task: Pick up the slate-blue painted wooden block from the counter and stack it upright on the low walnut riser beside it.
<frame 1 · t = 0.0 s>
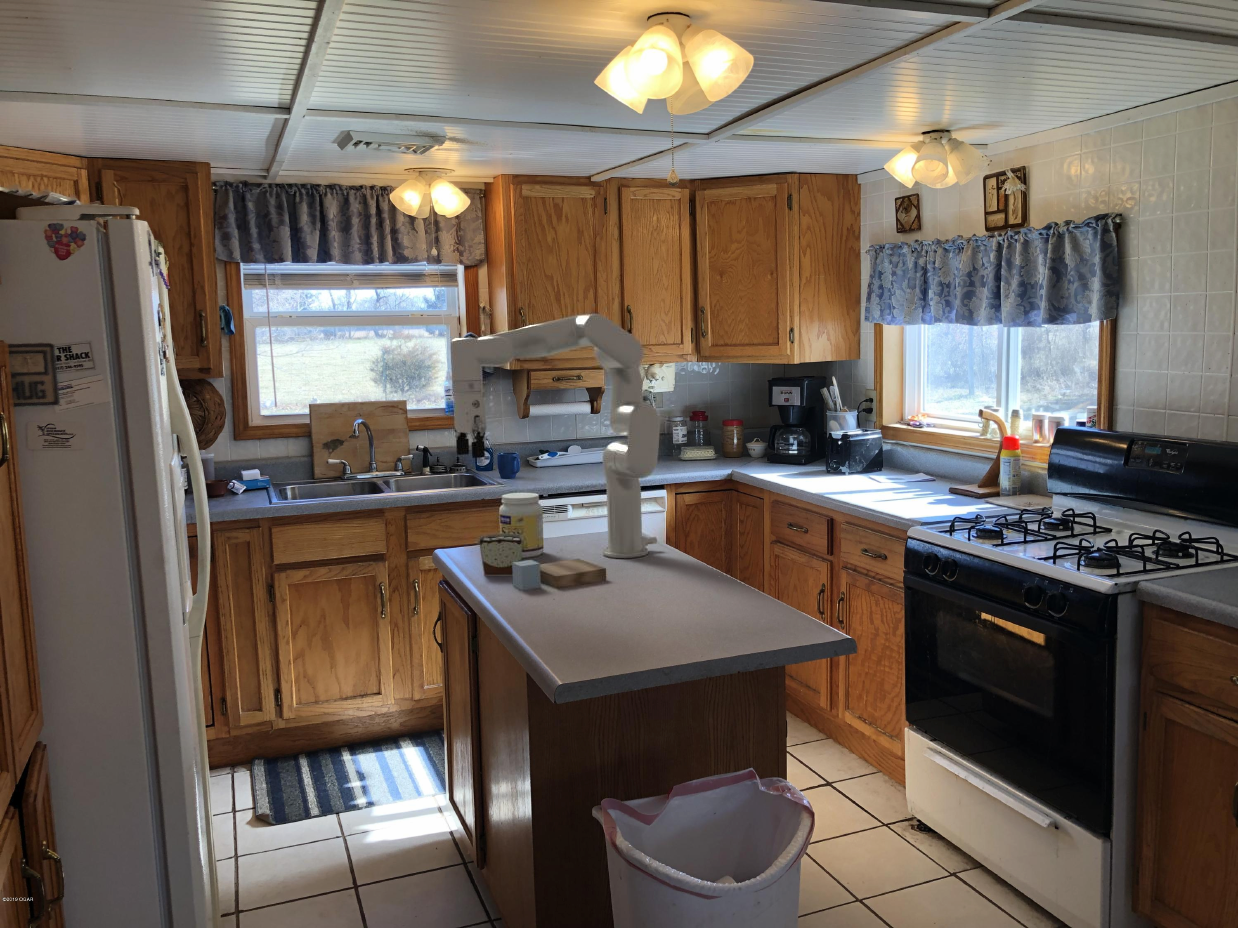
hand: (470, 456, 249), 31 cm above the countertop, fingers open, 9 cm apart
walnut riser: (568, 578, 249), on the countertop
food container: (504, 573, 257), on the countertop
supplement tub: (522, 554, 280), on the countertop
slate block: (526, 587, 242), on the countertop
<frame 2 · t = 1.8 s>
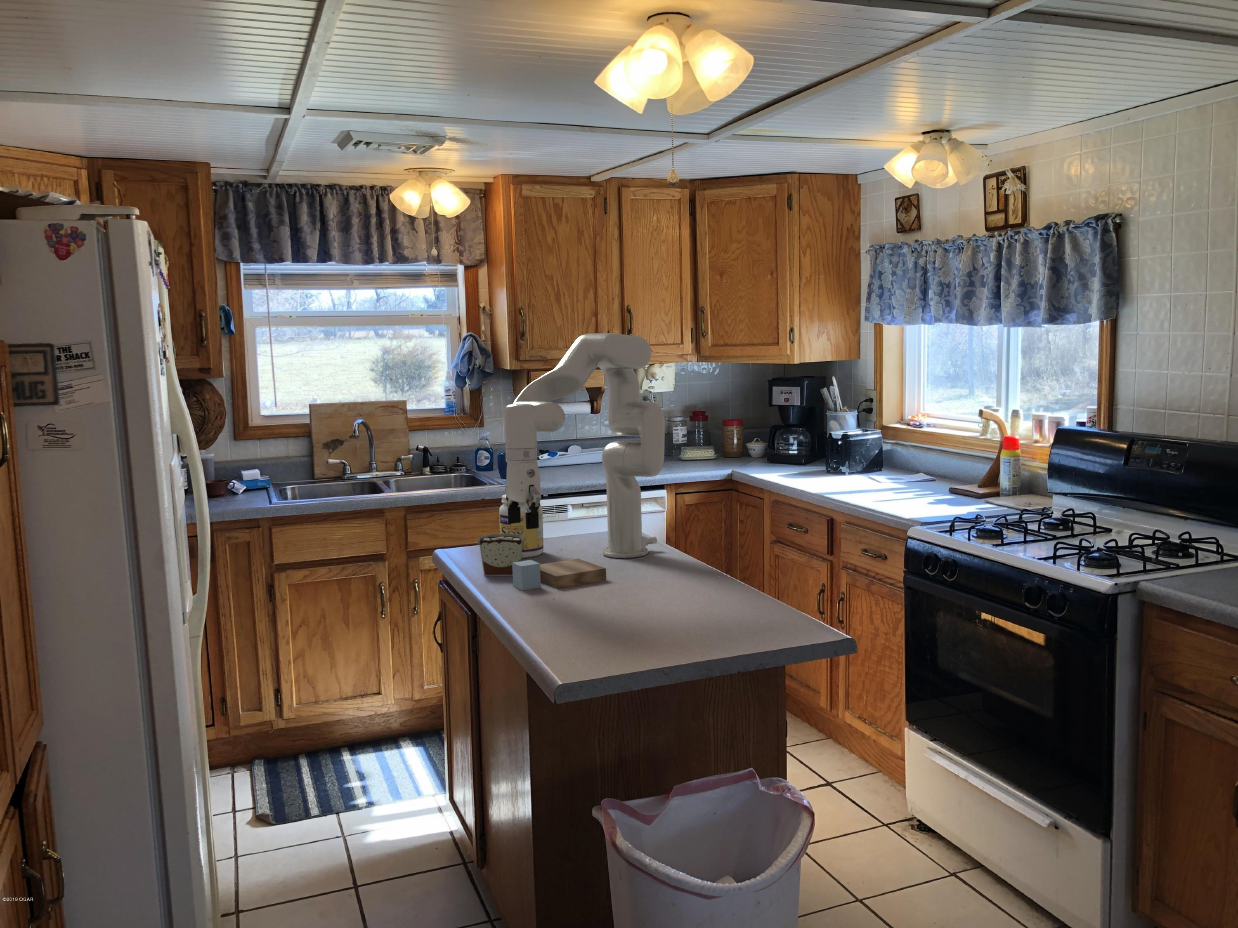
hand: (523, 525, 240), 15 cm above the countertop, fingers open, 9 cm apart
nothing on the countertop moved.
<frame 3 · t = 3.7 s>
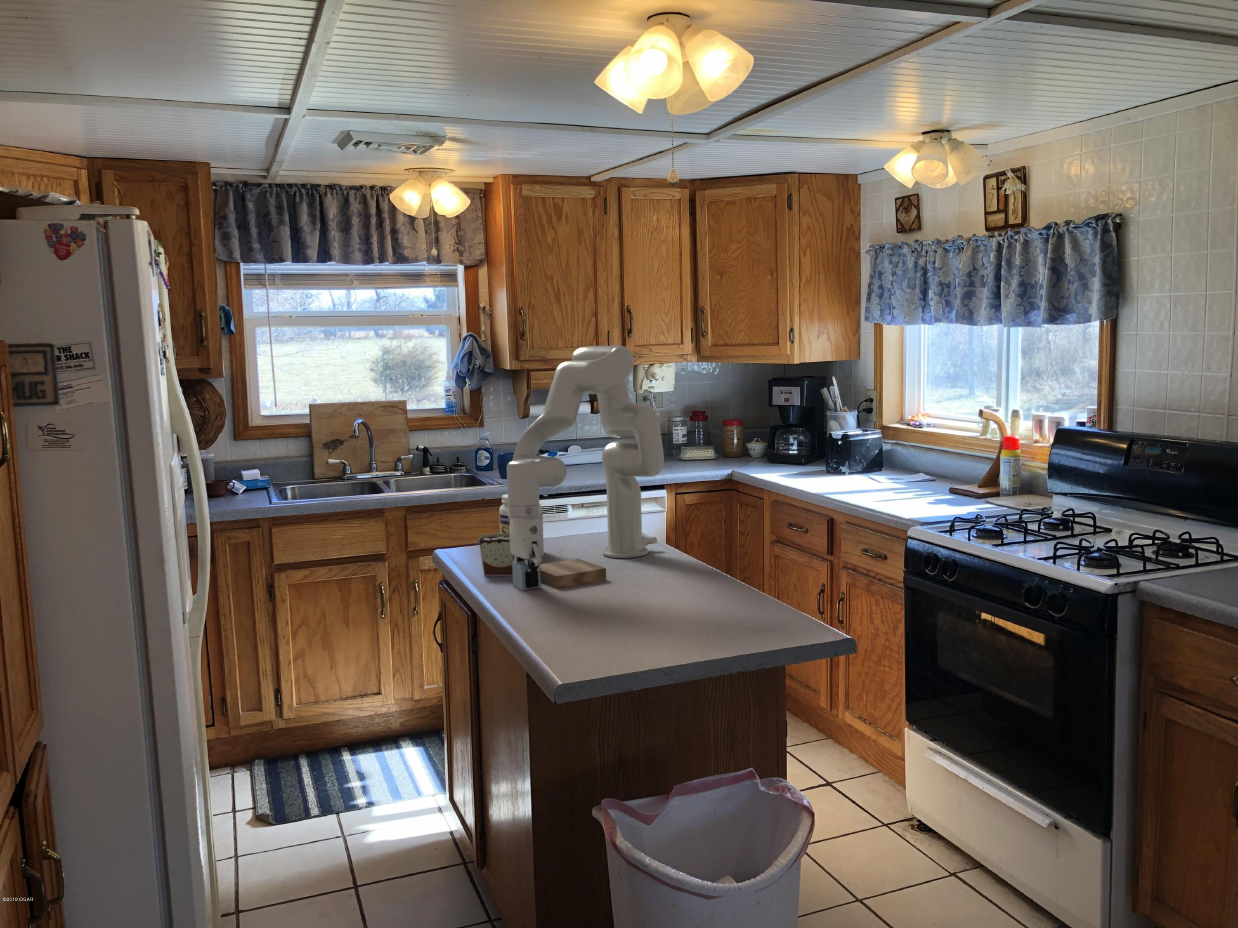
hand: (526, 584, 242), 1 cm above the countertop, fingers closed on slate block, 5 cm apart
slate block: (526, 586, 242), on the countertop, touching gripper
everything else where it was.
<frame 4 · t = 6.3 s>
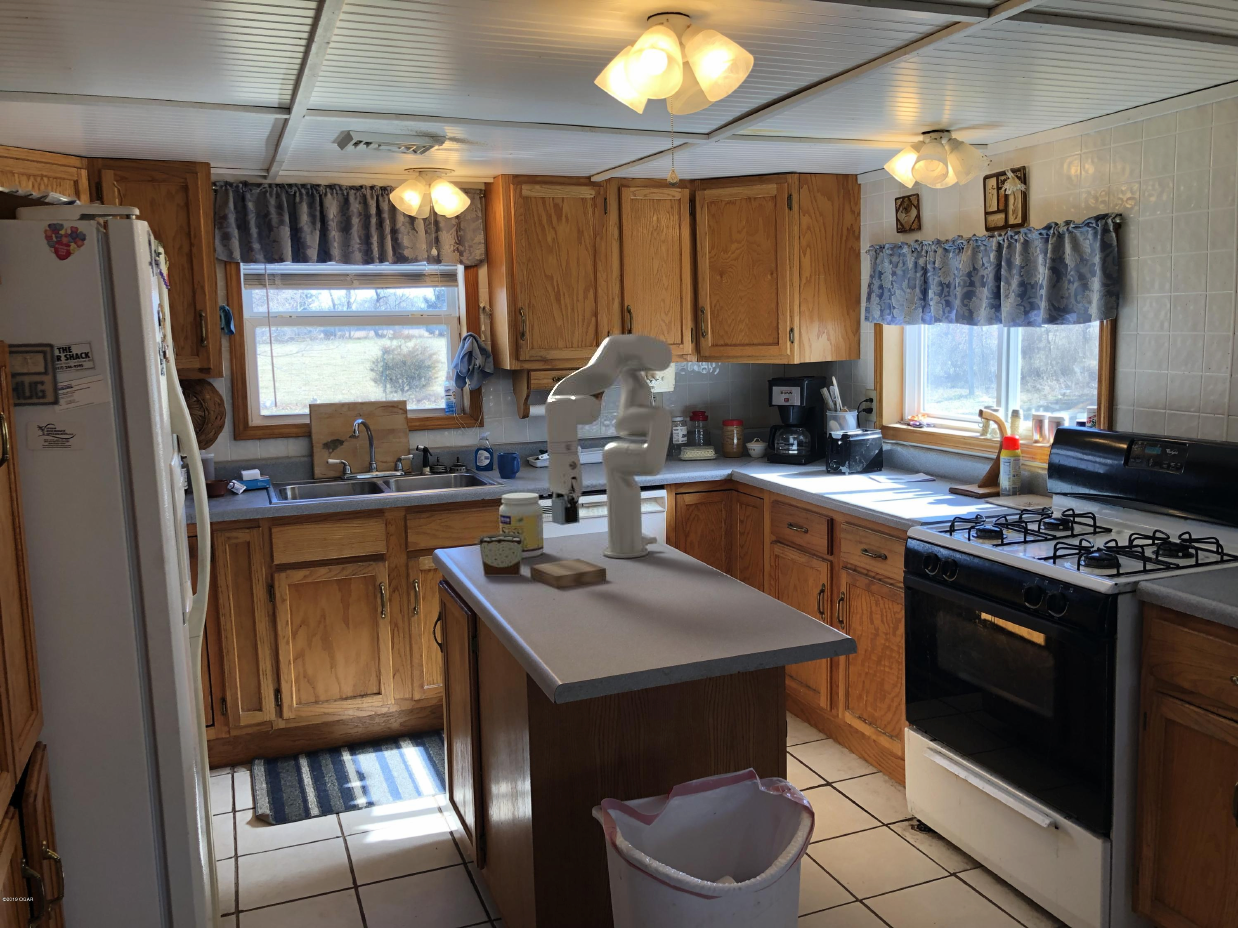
hand: (565, 519, 247), 15 cm above the countertop, fingers closed on slate block, 5 cm apart
slate block: (565, 522, 247), point 14 cm above the countertop, touching gripper
everything else where it was.
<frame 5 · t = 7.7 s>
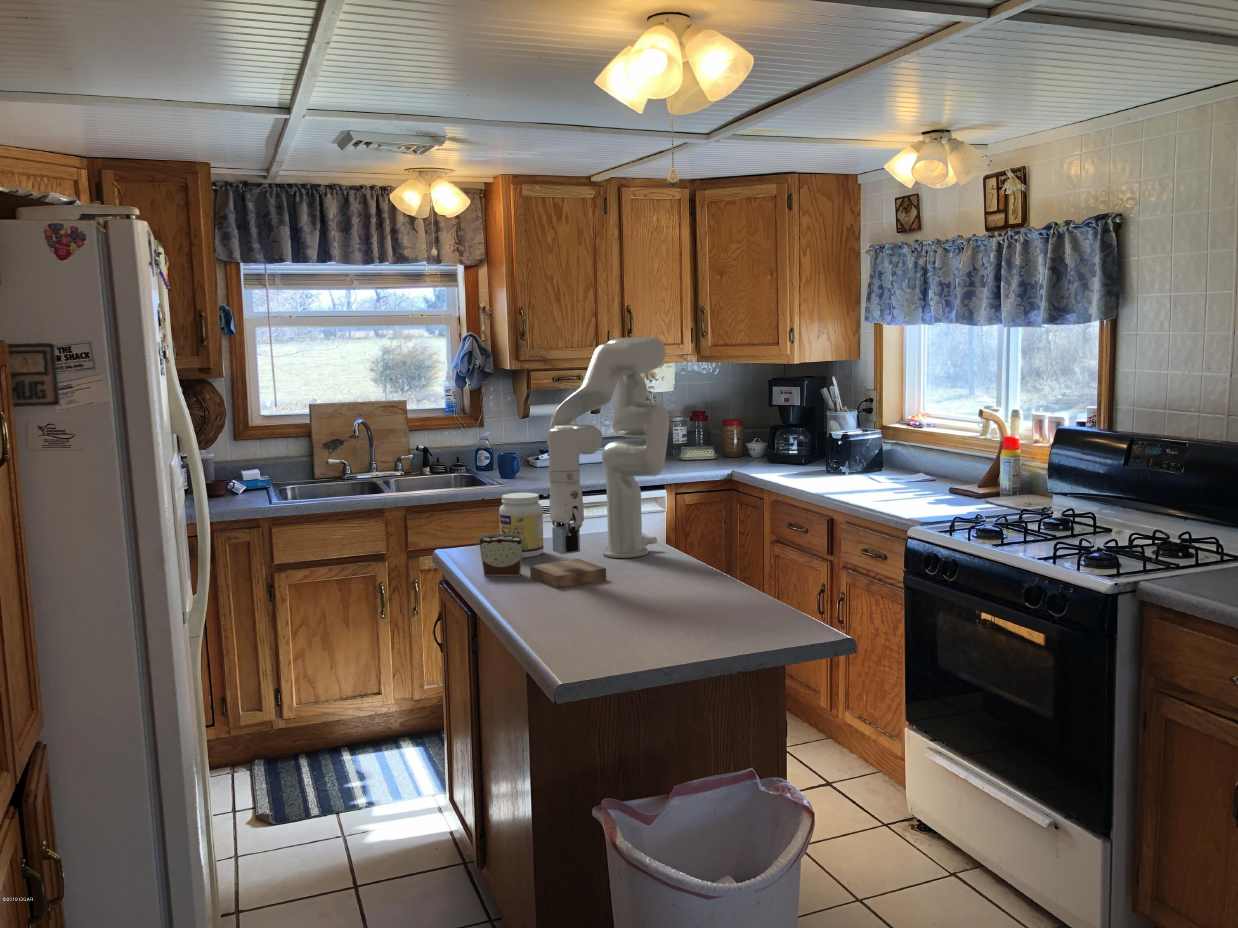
hand: (566, 548, 248), 8 cm above the countertop, fingers closed on slate block, 5 cm apart
slate block: (566, 551, 248), point 7 cm above the countertop, touching gripper
everything else where it was.
when the fingers open (5 cm above the countertop, at t = 9.0 s): slate block drops 1 cm, resting on walnut riser.
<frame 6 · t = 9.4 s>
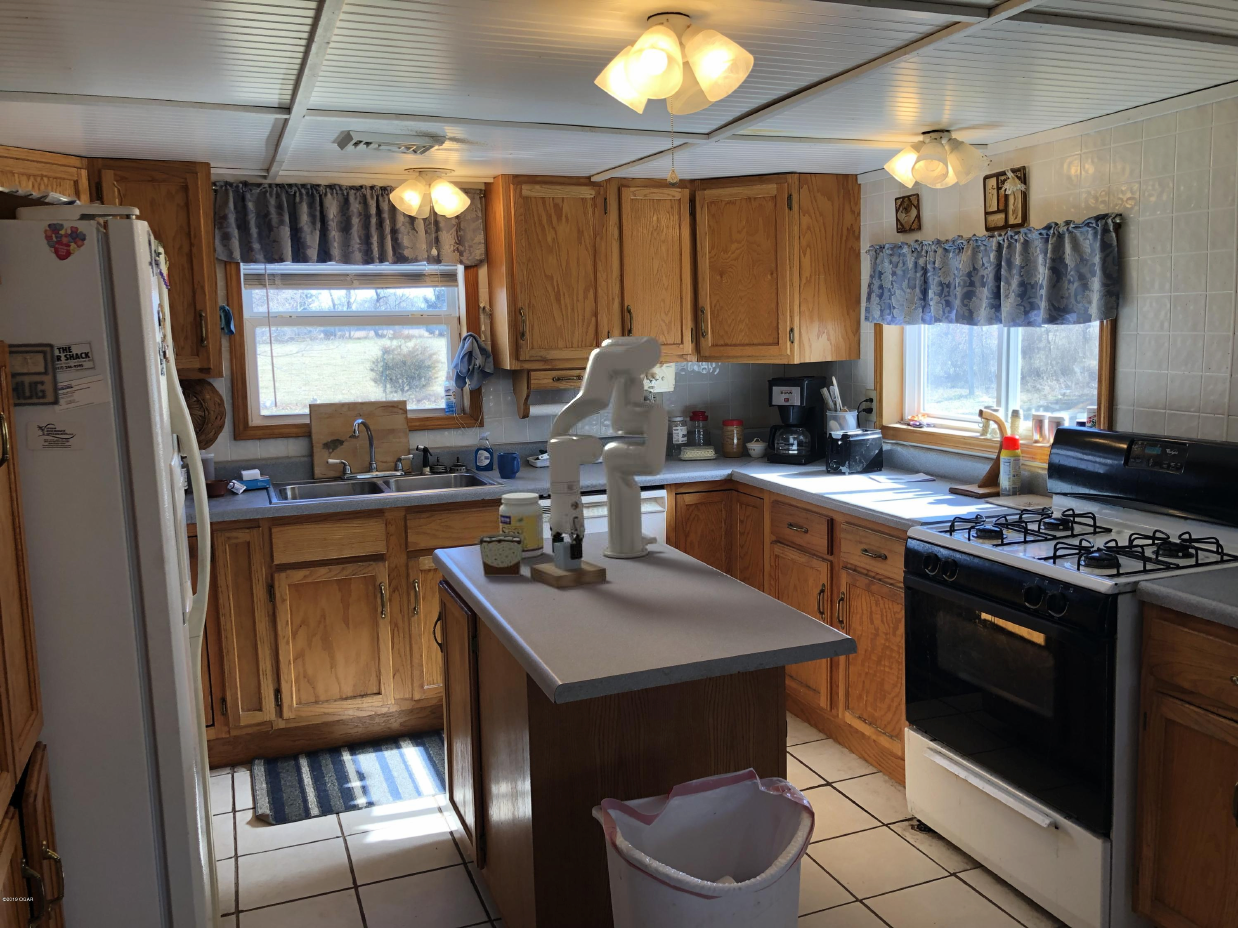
hand: (567, 555, 248), 6 cm above the countertop, fingers open, 9 cm apart
slate block: (567, 567, 249), point 3 cm above the countertop, touching walnut riser
everything else where it was.
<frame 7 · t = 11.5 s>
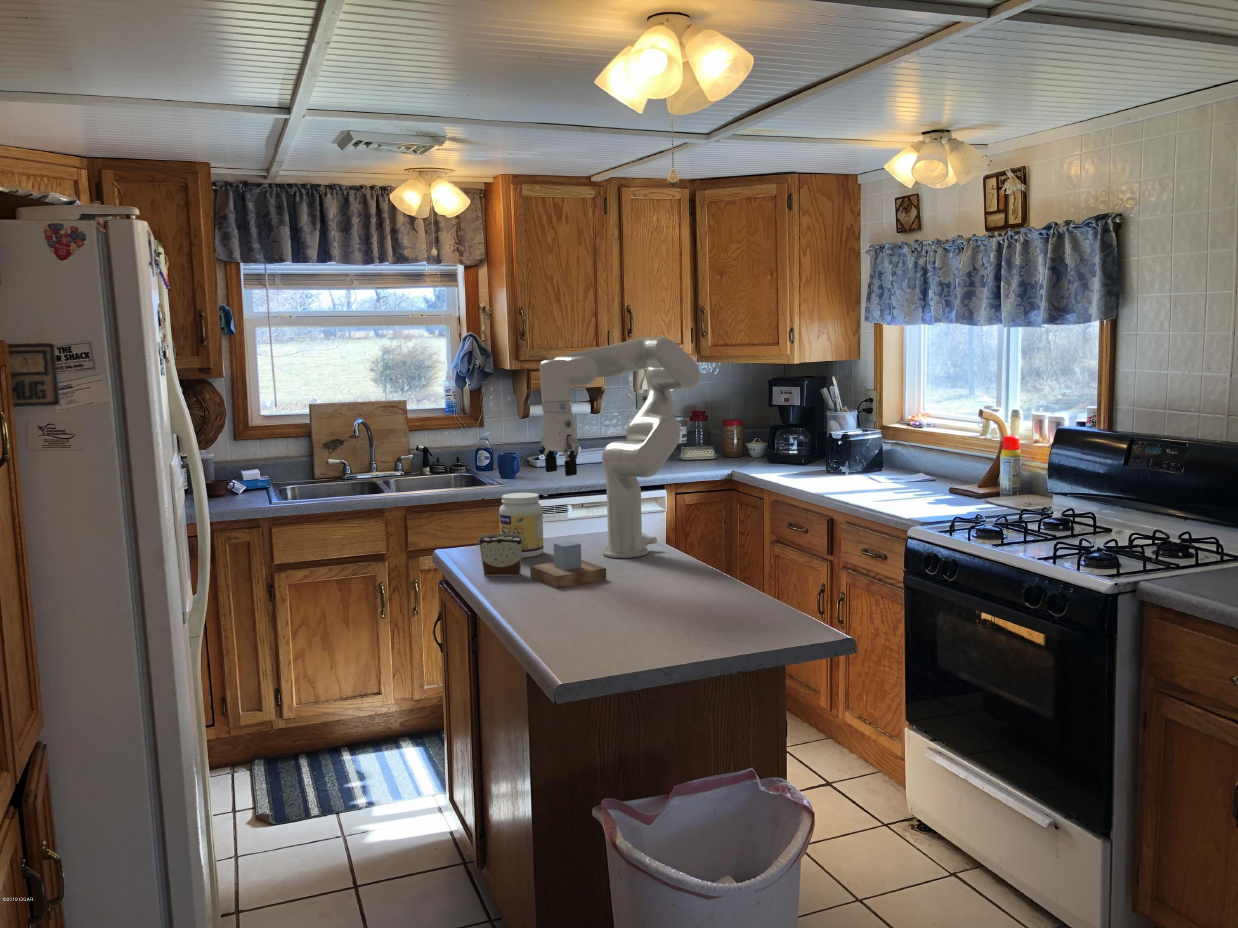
hand: (561, 473, 257), 25 cm above the countertop, fingers open, 9 cm apart
nothing on the countertop moved.
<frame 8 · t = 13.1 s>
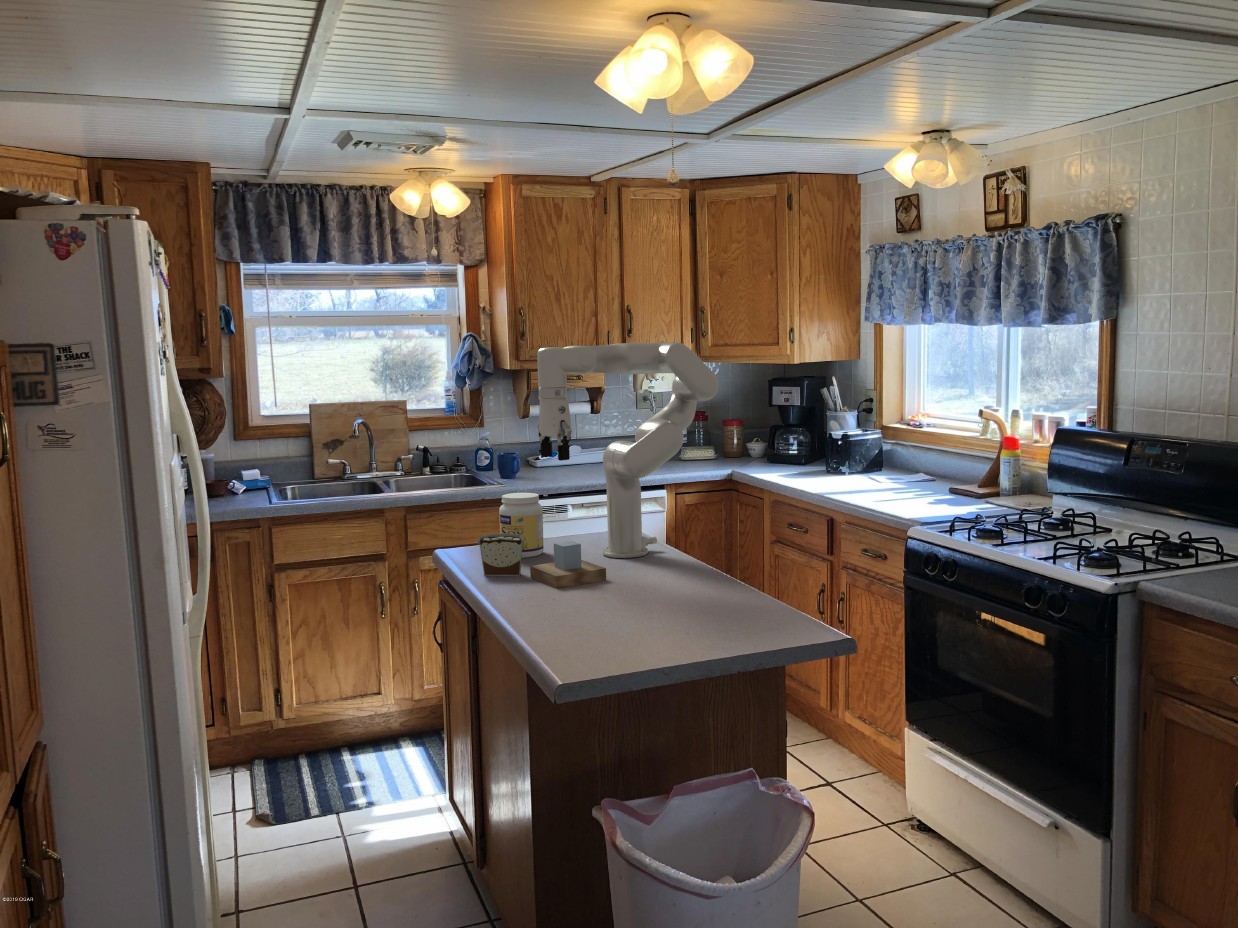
hand: (555, 458, 264), 28 cm above the countertop, fingers open, 9 cm apart
nothing on the countertop moved.
at the end: slate block inside the target area on the walnut riser (0.1 cm from its centre), point 3.0 cm above the walnut riser's base; slate block tilted 0°; the gripper is holding nothing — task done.
